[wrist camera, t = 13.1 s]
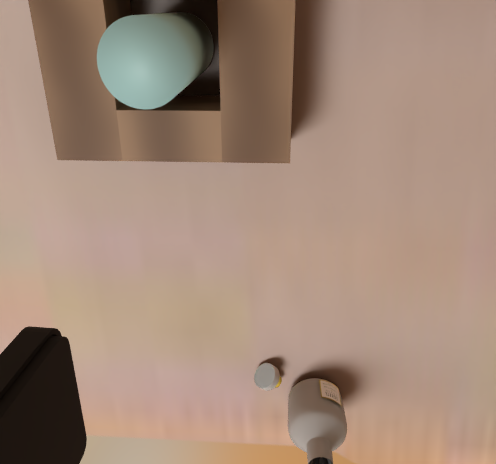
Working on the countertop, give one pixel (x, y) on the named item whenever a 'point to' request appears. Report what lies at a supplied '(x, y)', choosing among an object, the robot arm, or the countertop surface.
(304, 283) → the countertop surface
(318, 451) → the reed diffuser
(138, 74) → the peg
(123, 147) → the socket block
